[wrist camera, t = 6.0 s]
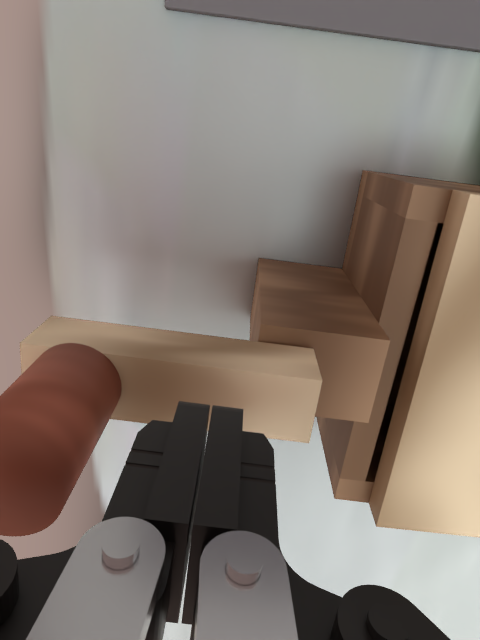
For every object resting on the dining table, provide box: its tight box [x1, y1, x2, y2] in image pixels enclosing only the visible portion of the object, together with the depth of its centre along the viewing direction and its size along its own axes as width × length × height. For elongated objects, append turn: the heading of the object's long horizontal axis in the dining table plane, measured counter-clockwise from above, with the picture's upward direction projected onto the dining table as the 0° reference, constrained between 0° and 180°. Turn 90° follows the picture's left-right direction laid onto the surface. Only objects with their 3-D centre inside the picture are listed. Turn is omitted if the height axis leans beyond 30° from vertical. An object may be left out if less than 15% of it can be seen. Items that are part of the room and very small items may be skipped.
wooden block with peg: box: [0, 316, 322, 536], centre depth 12 cm, size 8×2×6 cm, turn 83°
